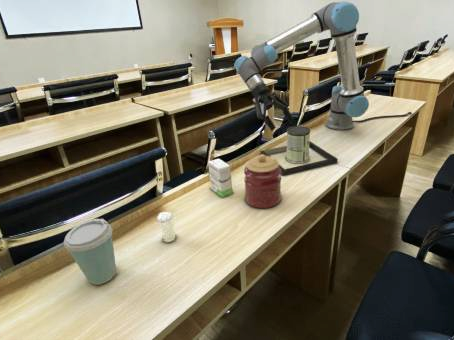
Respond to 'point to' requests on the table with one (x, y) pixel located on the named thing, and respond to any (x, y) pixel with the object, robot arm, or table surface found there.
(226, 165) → the ink box
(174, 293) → the table surface
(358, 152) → the table surface
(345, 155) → the table surface
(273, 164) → the kitchen canister
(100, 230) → the disposable coffee cup
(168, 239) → the salt shaker
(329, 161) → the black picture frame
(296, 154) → the coffee can
